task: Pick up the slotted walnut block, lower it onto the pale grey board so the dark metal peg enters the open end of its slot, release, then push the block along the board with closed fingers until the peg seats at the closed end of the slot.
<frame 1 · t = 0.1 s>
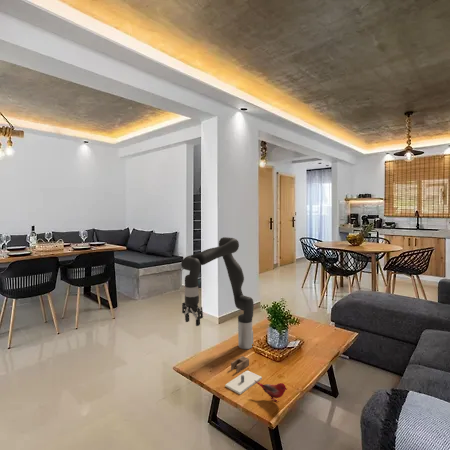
hand: (192, 323, 166), 29 cm above the table, fingers open, 8 cm apart
peg board: (243, 382, 161), on the table
decorative bird figurine: (270, 399, 147), on the table
slotted block: (240, 367, 176), on the table
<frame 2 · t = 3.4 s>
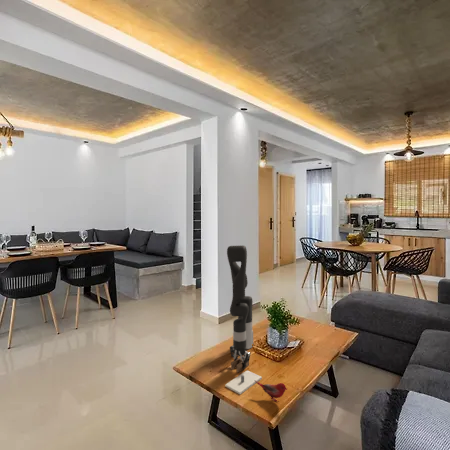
hand: (240, 366, 176), 0 cm above the table, fingers closed on slotted block, 5 cm apart
slotted block: (240, 367, 176), on the table, touching gripper
everything else where it was.
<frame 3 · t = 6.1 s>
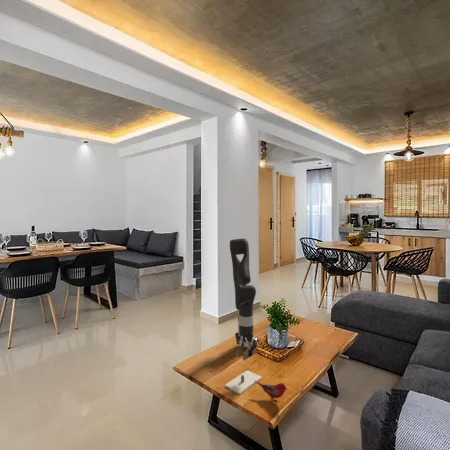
hand: (246, 354, 162), 14 cm above the table, fingers closed on slotted block, 5 cm apart
slotted block: (246, 355, 162), point 14 cm above the table, touching gripper
everything else where it was.
when the fingers open (2 cm above the table, at t = 8.6 s): slotted block stays where it is, resting on peg board.
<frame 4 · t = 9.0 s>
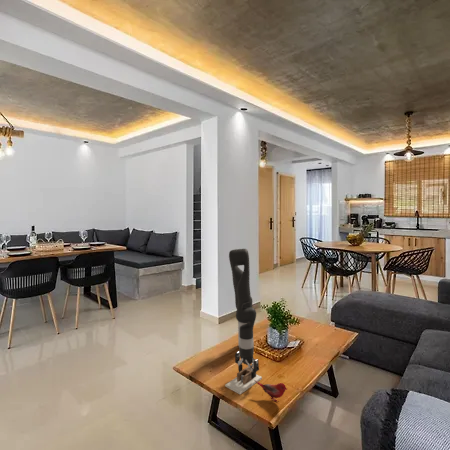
hand: (246, 374, 163), 3 cm above the table, fingers open, 8 cm apart
slotted block: (246, 378, 163), point 1 cm above the table, touching peg board
everything else where it was.
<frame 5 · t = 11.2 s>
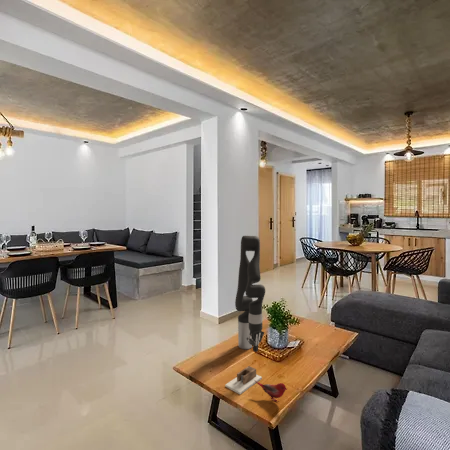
hand: (255, 351, 169), 12 cm above the table, fingers closed
nothing on the table moved.
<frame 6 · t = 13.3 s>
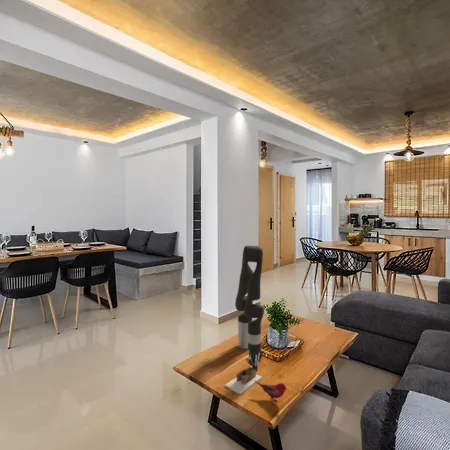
hand: (255, 371, 168), 2 cm above the table, fingers closed
slotted block: (246, 378, 163), point 1 cm above the table, touching gripper
everything else where it was.
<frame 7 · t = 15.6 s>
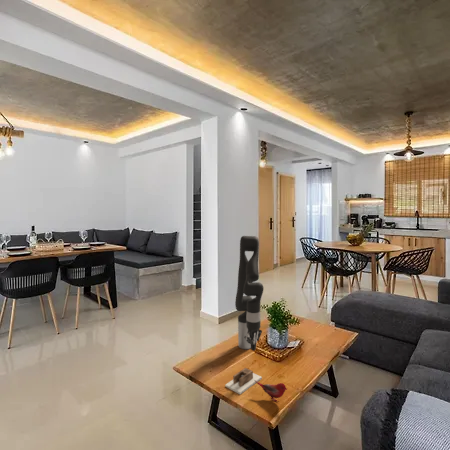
hand: (253, 349, 167), 14 cm above the table, fingers closed
slotted block: (243, 380, 161), point 1 cm above the table, touching peg board
everything else where it was.
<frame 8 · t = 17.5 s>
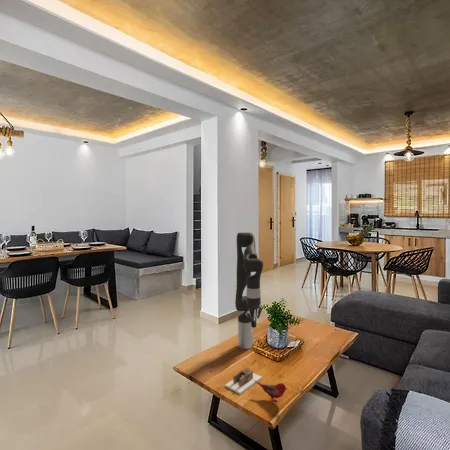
hand: (253, 327, 166), 27 cm above the table, fingers closed
nothing on the table moved.
at the end: slotted block 1.5 cm from the target spot on the peg board, point 1.0 cm above the peg board's base; slotted block tilted 0°; the gripper is holding nothing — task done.
